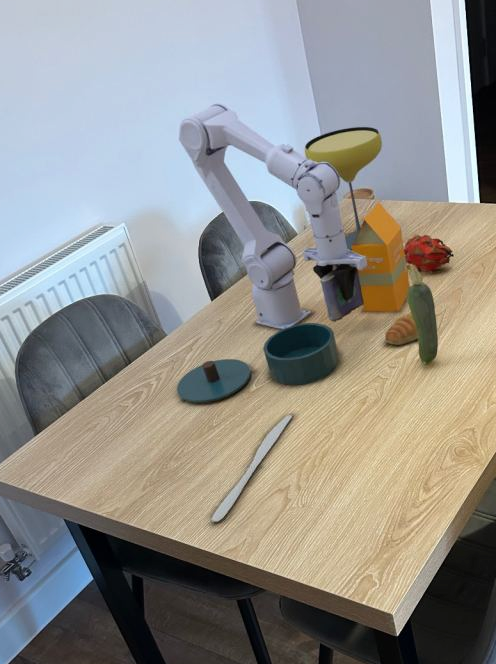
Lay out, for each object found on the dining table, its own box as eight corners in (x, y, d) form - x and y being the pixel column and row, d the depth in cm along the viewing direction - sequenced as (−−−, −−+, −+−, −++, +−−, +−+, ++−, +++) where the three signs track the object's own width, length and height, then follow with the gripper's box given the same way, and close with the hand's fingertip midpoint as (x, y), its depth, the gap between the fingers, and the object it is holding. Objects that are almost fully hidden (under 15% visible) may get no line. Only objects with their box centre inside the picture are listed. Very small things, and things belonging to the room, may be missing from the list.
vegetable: (445, 359, 137) (431, 256, 125) (439, 372, 134) (424, 268, 122) (421, 359, 138) (405, 257, 127) (415, 372, 135) (398, 269, 124)
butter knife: (203, 518, 112) (220, 520, 111) (281, 414, 132) (296, 414, 130) (204, 521, 113) (221, 523, 111) (282, 417, 132) (297, 417, 131)
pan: (256, 376, 145) (249, 351, 142) (302, 342, 152) (295, 318, 149) (307, 391, 137) (300, 365, 134) (353, 354, 144) (347, 329, 141)
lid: (163, 395, 146) (156, 375, 143) (217, 358, 154) (210, 338, 151) (212, 412, 137) (205, 392, 135) (266, 372, 145) (260, 352, 143)
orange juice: (363, 311, 158) (345, 220, 147) (377, 291, 165) (361, 202, 153) (398, 311, 155) (382, 218, 144) (411, 291, 161) (397, 200, 150)
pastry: (401, 351, 142) (397, 333, 140) (377, 341, 147) (374, 324, 145) (436, 329, 146) (434, 312, 144) (412, 321, 151) (410, 304, 149)
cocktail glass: (311, 248, 192) (288, 149, 177) (361, 221, 200) (343, 124, 186) (360, 261, 180) (339, 155, 165) (411, 231, 188) (396, 128, 174)
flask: (335, 323, 148) (323, 273, 142) (325, 320, 150) (313, 270, 144) (367, 303, 153) (357, 253, 147) (357, 300, 155) (346, 251, 149)
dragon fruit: (404, 272, 174) (453, 282, 169) (390, 265, 166) (441, 275, 161) (414, 235, 172) (463, 244, 168) (400, 226, 165) (451, 236, 160)
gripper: (286, 236, 144) (302, 300, 152) (344, 244, 135) (358, 312, 143) (310, 222, 148) (324, 285, 156) (368, 229, 139) (380, 295, 147)
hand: (342, 296), depth 150 cm, fingers closed on flask, 3 cm apart
